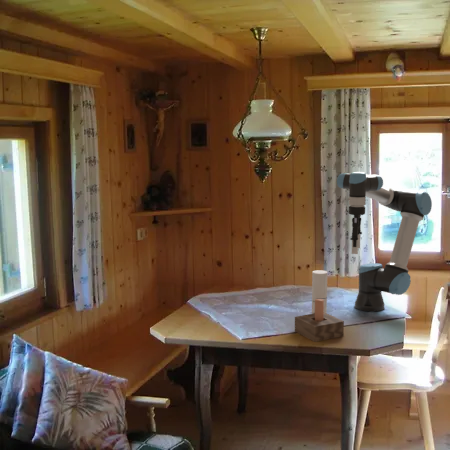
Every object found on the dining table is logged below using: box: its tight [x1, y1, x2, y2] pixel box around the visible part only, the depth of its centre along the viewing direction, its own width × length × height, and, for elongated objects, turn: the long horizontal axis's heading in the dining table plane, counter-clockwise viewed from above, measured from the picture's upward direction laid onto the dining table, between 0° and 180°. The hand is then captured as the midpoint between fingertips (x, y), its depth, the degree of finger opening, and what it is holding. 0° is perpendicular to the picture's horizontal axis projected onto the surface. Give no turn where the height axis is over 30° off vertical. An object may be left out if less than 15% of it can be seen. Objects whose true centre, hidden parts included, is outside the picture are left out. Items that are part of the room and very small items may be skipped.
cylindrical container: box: [311, 269, 328, 314], centre depth 308 cm, size 7×7×25 cm
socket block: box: [294, 312, 345, 342], centre depth 292 cm, size 16×16×7 cm
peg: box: [315, 299, 324, 322], centre depth 292 cm, size 4×4×16 cm
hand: (355, 250), depth 297 cm, fingers open, 13 cm apart
